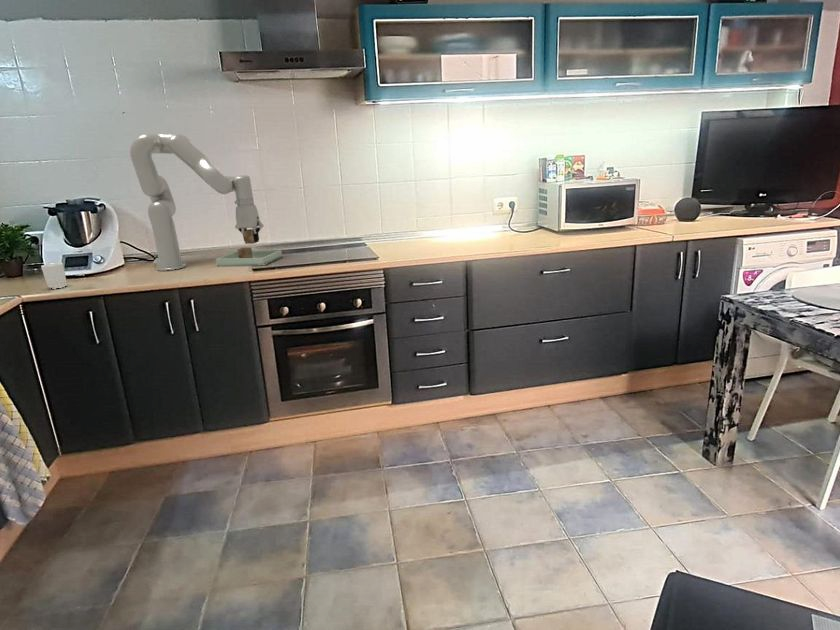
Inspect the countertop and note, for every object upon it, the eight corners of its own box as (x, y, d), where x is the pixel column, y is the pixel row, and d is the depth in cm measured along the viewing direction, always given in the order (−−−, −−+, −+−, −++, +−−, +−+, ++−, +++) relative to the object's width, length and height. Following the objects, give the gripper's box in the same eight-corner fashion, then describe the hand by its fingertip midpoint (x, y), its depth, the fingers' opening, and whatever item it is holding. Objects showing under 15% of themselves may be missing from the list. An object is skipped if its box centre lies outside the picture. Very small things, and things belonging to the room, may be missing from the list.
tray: (217, 266, 264) (215, 258, 263) (237, 258, 281) (236, 251, 280) (264, 265, 258) (262, 258, 257) (282, 257, 275) (281, 250, 274)
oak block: (245, 243, 269) (243, 231, 267) (250, 241, 273) (248, 229, 271) (253, 243, 268) (251, 230, 266) (258, 241, 272) (256, 229, 270)
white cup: (42, 289, 239) (36, 266, 236) (59, 285, 246) (54, 262, 243) (55, 290, 237) (49, 266, 234) (72, 285, 244) (67, 262, 241)
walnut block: (239, 262, 265) (237, 249, 263) (244, 260, 269) (242, 247, 267) (248, 262, 264) (246, 249, 262) (253, 260, 268) (251, 247, 266)
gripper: (224, 204, 263) (231, 243, 269) (257, 203, 259) (264, 242, 265) (233, 202, 270) (240, 240, 276) (265, 200, 266) (271, 239, 272)
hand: (251, 241), depth 270 cm, fingers closed on oak block, 4 cm apart
